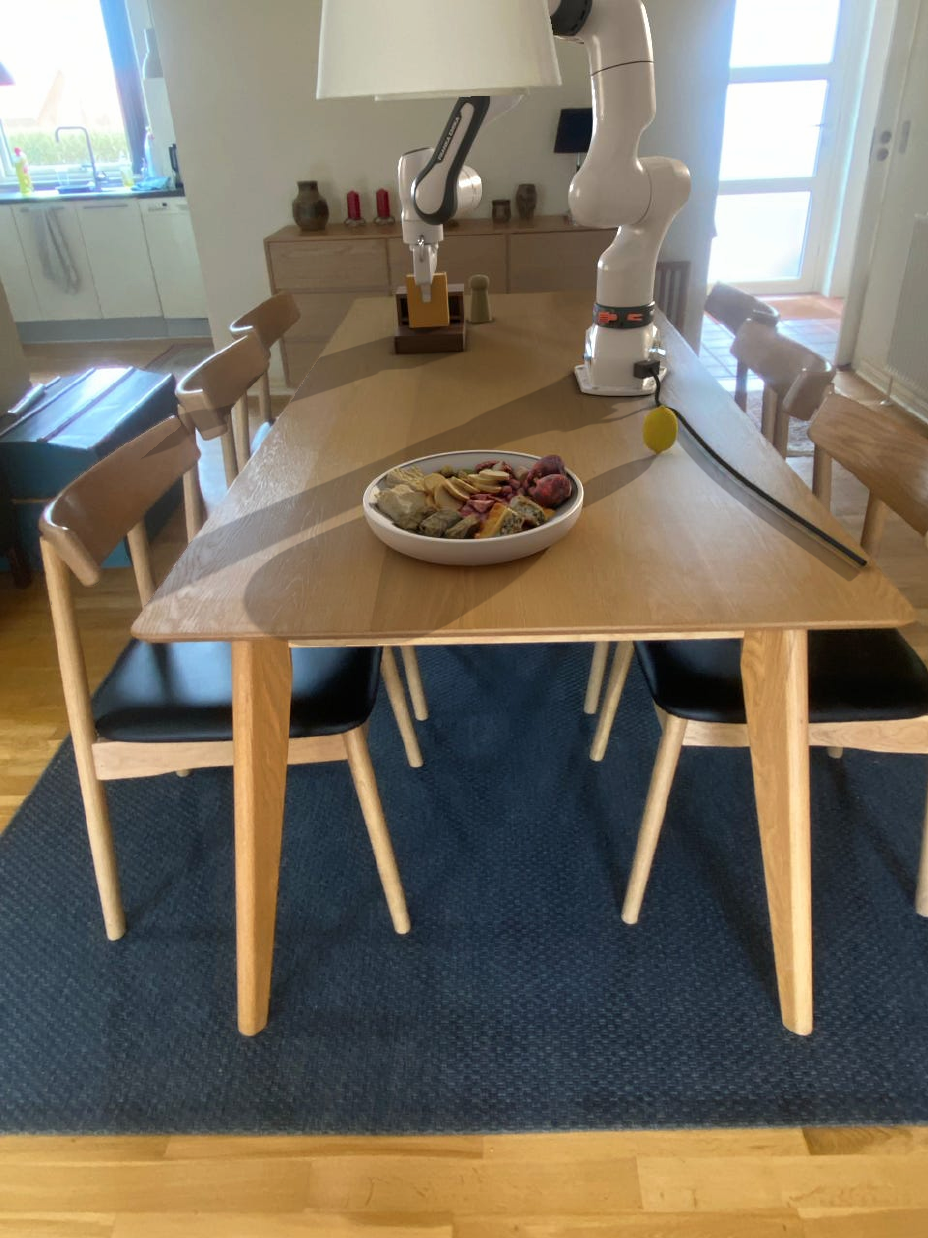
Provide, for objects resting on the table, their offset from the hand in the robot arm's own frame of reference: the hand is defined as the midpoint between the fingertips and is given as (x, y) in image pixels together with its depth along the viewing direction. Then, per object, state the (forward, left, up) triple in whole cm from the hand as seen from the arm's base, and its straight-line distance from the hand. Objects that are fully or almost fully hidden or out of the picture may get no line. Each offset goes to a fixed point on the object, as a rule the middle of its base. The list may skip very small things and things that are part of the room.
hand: (427, 298), depth 188 cm
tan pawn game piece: (+27, -7, -11) cm, 30 cm away
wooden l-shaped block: (+6, +1, -11) cm, 13 cm away
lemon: (-62, -53, -11) cm, 82 cm away
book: (0, 0, -6) cm, 6 cm away
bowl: (-90, -28, -11) cm, 95 cm away
